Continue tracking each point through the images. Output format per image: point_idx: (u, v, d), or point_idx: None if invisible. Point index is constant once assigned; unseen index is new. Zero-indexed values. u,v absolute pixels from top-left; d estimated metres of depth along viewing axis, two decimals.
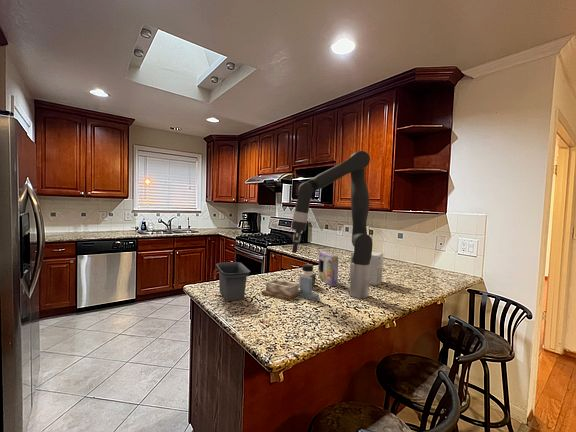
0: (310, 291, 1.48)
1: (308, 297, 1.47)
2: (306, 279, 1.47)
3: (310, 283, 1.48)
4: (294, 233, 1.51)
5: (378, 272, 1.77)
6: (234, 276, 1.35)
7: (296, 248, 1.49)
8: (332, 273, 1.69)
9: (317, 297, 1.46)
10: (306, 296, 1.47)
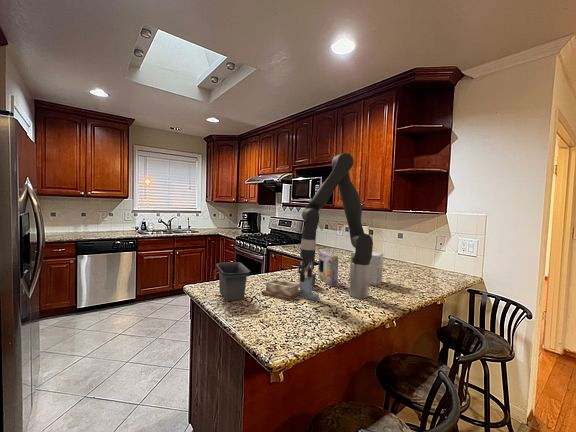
0: (310, 291, 1.48)
1: (308, 297, 1.47)
2: (306, 279, 1.47)
3: (310, 283, 1.48)
4: None
5: (378, 272, 1.77)
6: (234, 276, 1.35)
7: (303, 277, 1.44)
8: (332, 273, 1.69)
9: (317, 297, 1.46)
10: (306, 296, 1.47)
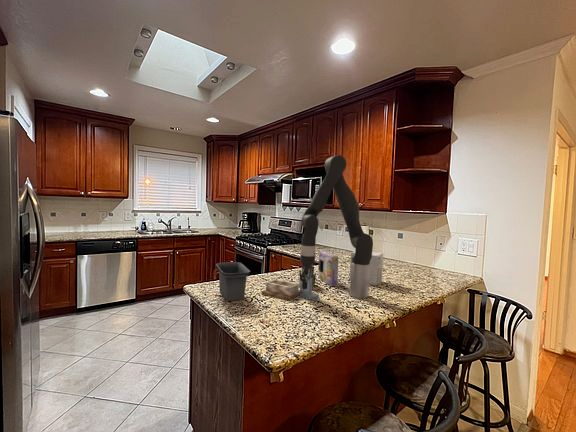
0: (310, 291, 1.48)
1: (308, 297, 1.47)
2: None
3: (310, 283, 1.48)
4: None
5: (378, 272, 1.77)
6: (234, 276, 1.35)
7: (305, 284, 1.47)
8: (332, 273, 1.69)
9: (317, 297, 1.46)
10: (306, 296, 1.47)
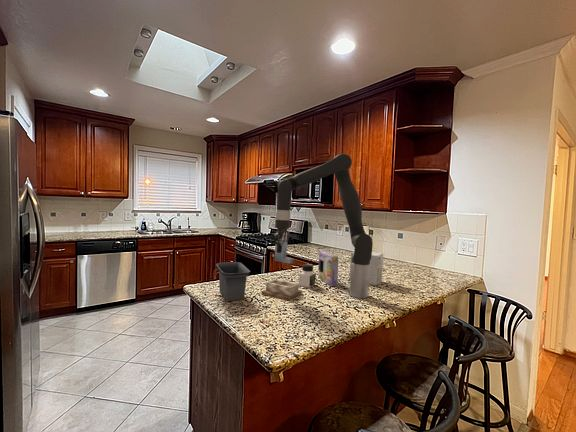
0: (284, 255, 1.51)
1: (282, 261, 1.50)
2: None
3: (284, 247, 1.50)
4: None
5: (378, 272, 1.77)
6: (234, 276, 1.35)
7: (280, 248, 1.49)
8: (332, 273, 1.69)
9: (291, 260, 1.49)
10: (280, 260, 1.50)
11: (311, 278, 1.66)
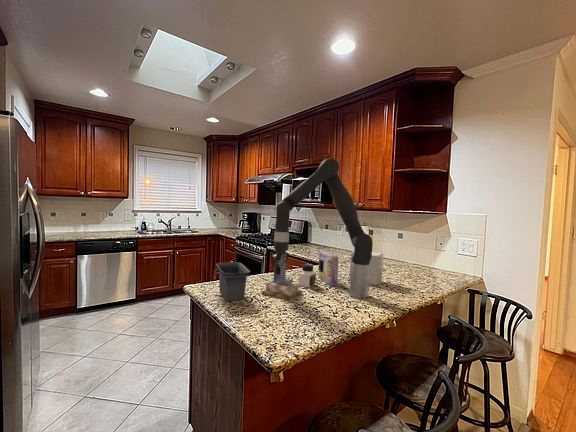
0: (283, 276, 1.52)
1: (281, 282, 1.50)
2: None
3: (283, 268, 1.51)
4: None
5: (378, 272, 1.77)
6: (234, 276, 1.35)
7: (279, 269, 1.50)
8: (332, 273, 1.69)
9: (290, 282, 1.50)
10: (279, 281, 1.51)
11: (311, 278, 1.66)
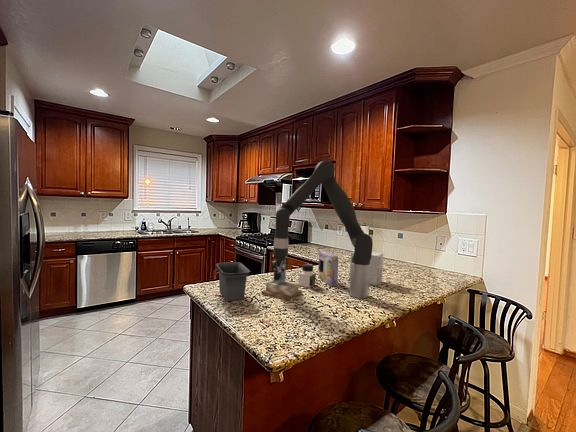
0: (283, 284, 1.52)
1: None
2: (279, 273, 1.51)
3: (283, 276, 1.51)
4: None
5: (378, 272, 1.77)
6: (234, 276, 1.35)
7: (277, 275, 1.49)
8: (332, 273, 1.69)
9: None
10: None
11: (311, 278, 1.66)
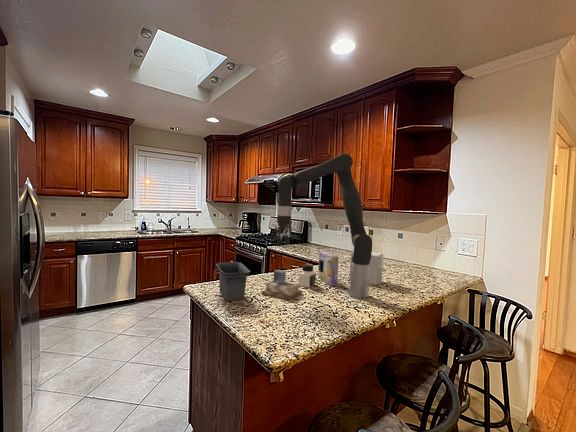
0: (283, 284, 1.52)
1: None
2: (279, 273, 1.51)
3: (283, 276, 1.51)
4: None
5: (378, 272, 1.77)
6: (234, 276, 1.35)
7: (280, 241, 1.51)
8: (332, 273, 1.69)
9: None
10: None
11: (311, 278, 1.66)
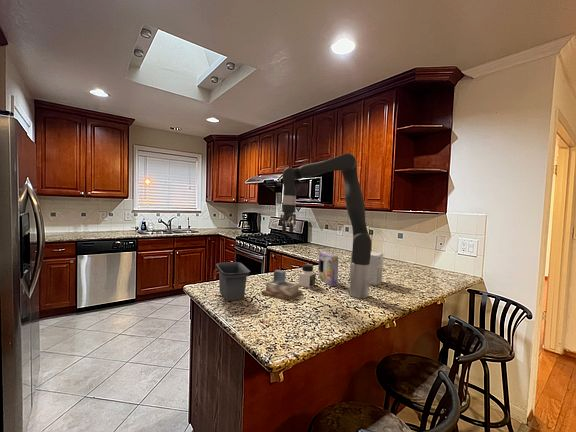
0: (283, 284, 1.52)
1: None
2: (279, 273, 1.51)
3: (283, 276, 1.51)
4: None
5: (378, 272, 1.77)
6: (234, 276, 1.35)
7: (285, 229, 1.61)
8: (332, 273, 1.69)
9: None
10: None
11: (311, 278, 1.66)
